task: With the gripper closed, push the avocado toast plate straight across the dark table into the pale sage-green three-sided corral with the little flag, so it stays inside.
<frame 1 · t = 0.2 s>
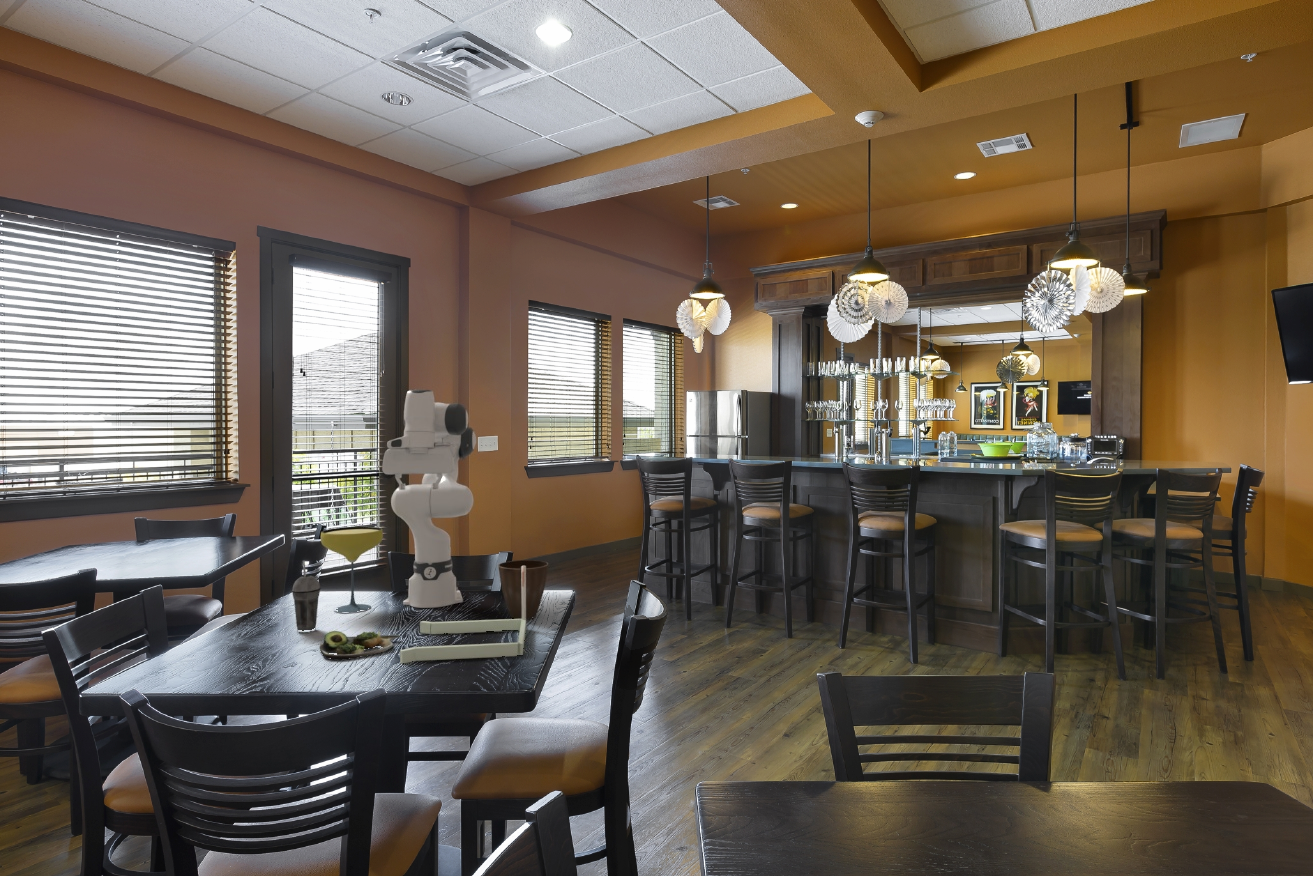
hand: (418, 489, 207), 39 cm above the table, tool pointing down, fingers open, 8 cm apart
avocado toast plate: (354, 651, 182), on the table
corral: (473, 643, 186), on the table
cocktail glass: (352, 609, 223), on the table
plant pot: (523, 617, 214), on the table
beverage cup: (306, 631, 199), on the table
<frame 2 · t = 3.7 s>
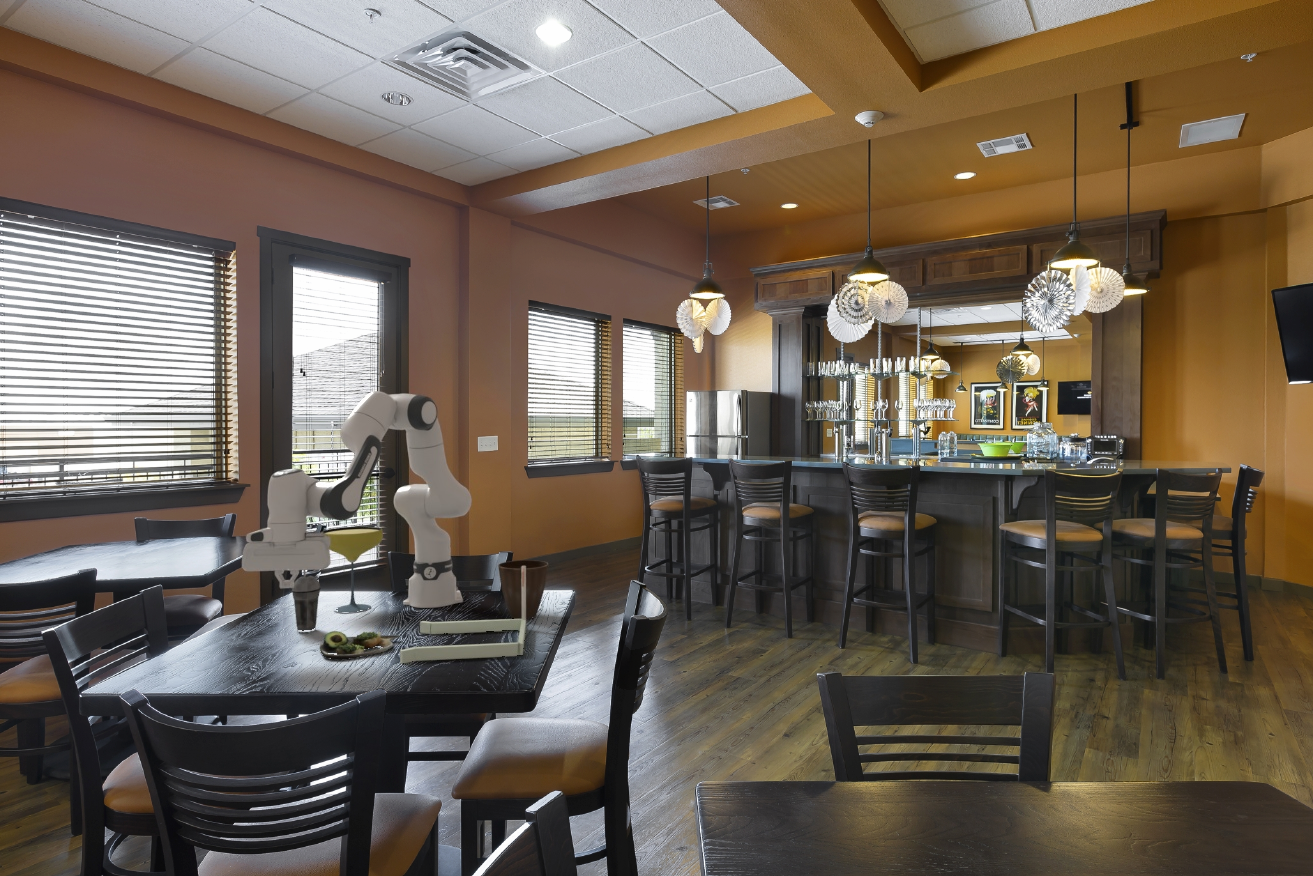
hand: (287, 587, 179), 16 cm above the table, tool pointing down, fingers closed
nothing on the table moved.
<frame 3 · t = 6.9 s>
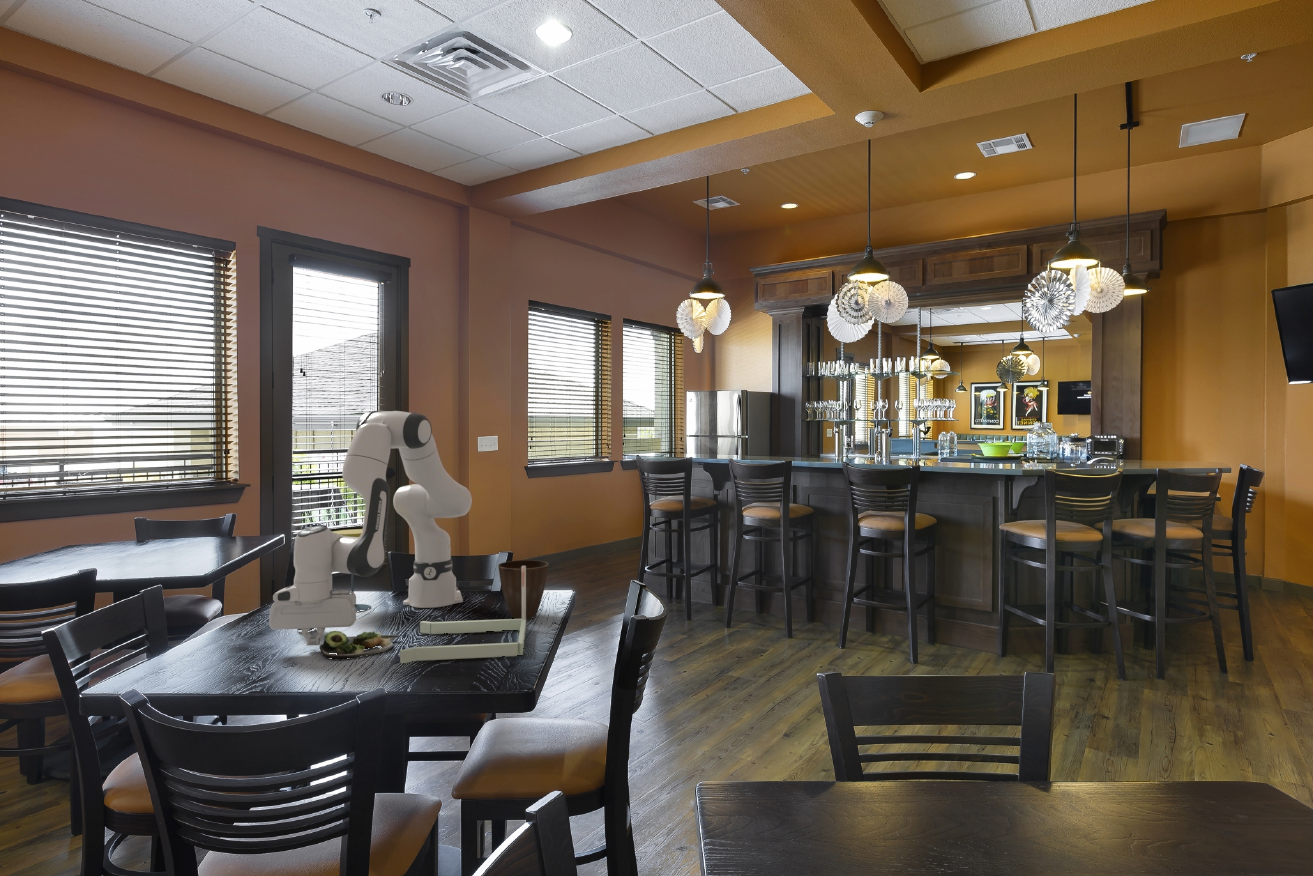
hand: (313, 645, 180), 1 cm above the table, tool pointing down, fingers closed
avocado toast plate: (354, 651, 182), on the table, touching gripper
everything else where it was.
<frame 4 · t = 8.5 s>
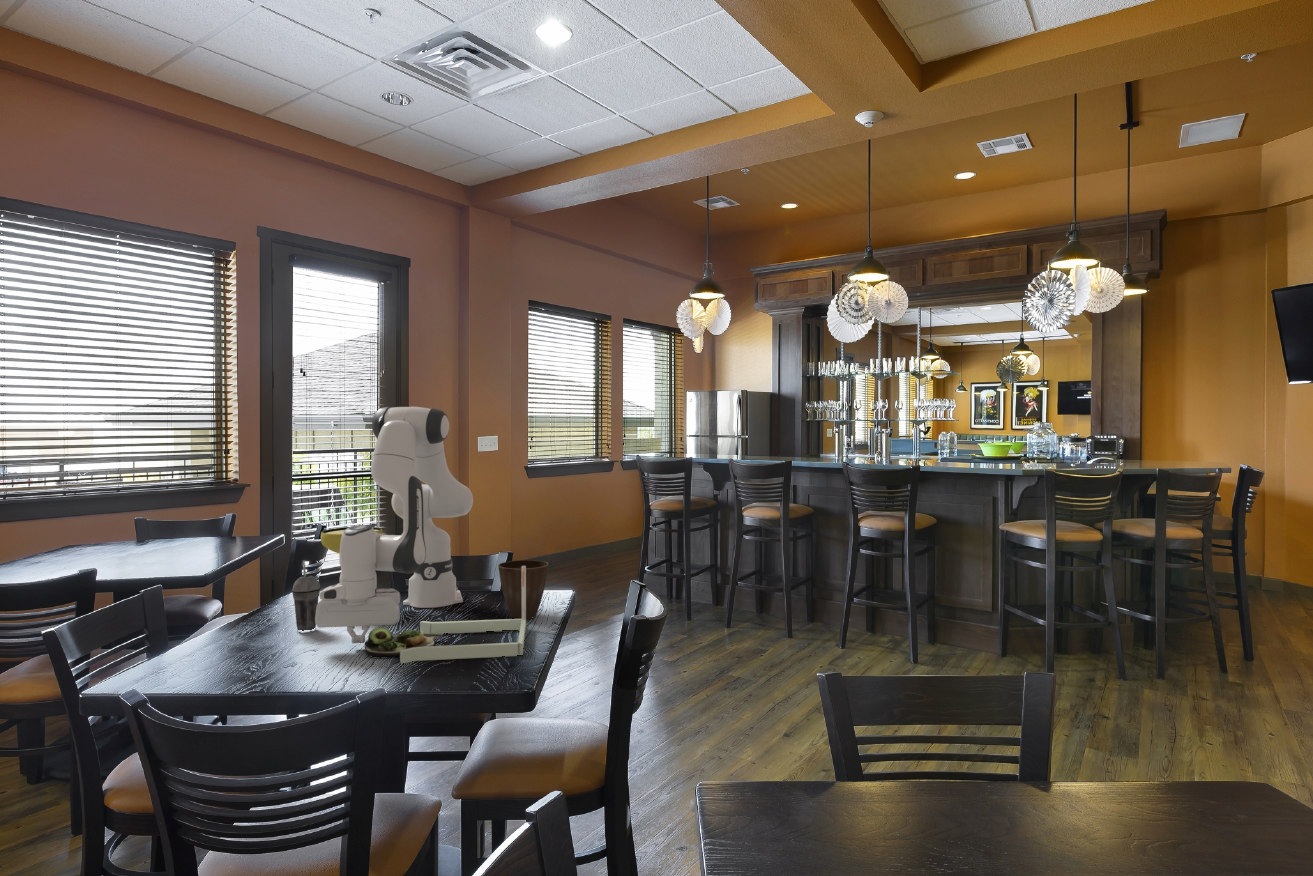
hand: (358, 642, 182), 2 cm above the table, tool pointing down, fingers closed
avocado toast plate: (397, 648, 183), on the table, touching gripper
everything else where it was.
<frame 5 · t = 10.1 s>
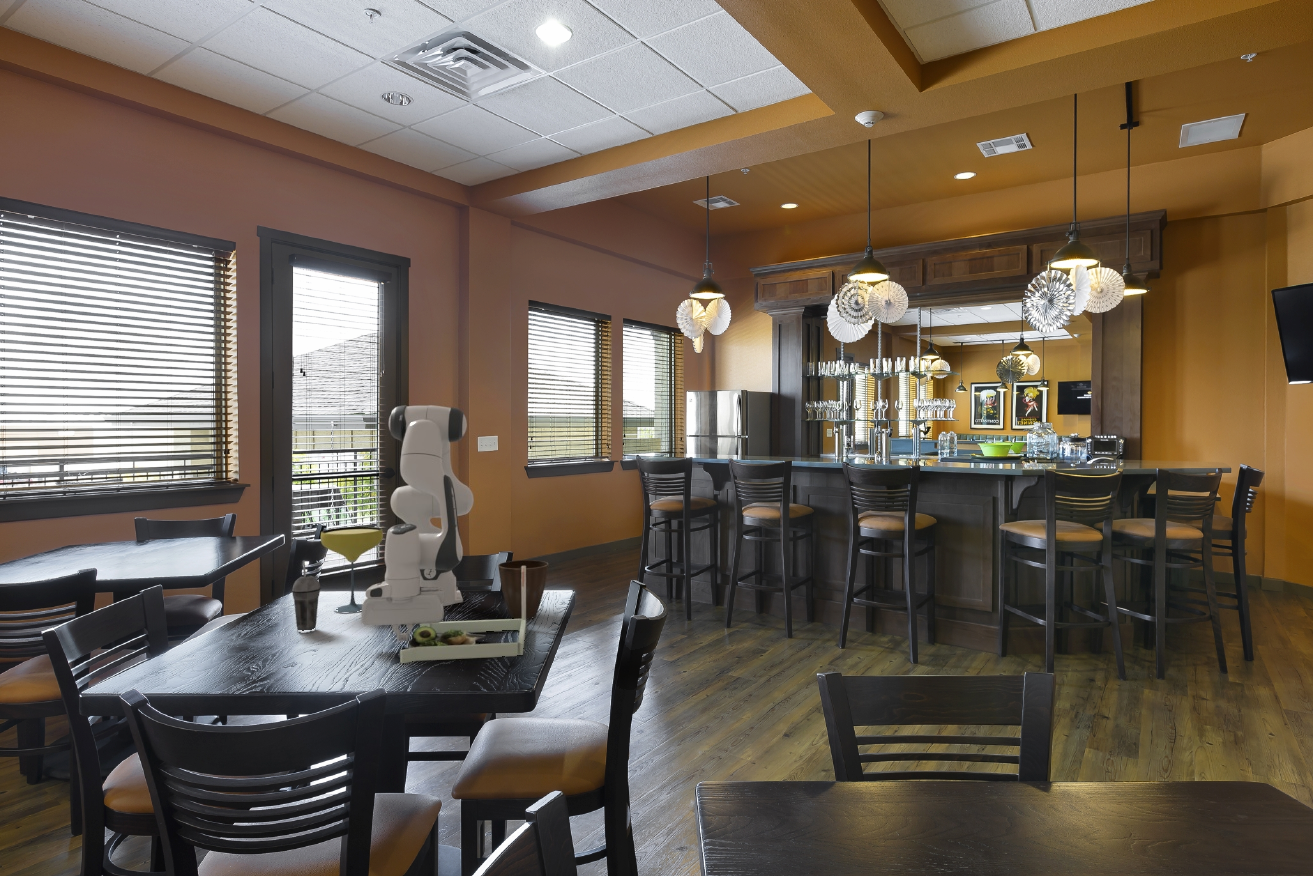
hand: (403, 640, 183), 2 cm above the table, tool pointing down, fingers closed
avocado toast plate: (440, 648, 184), on the table, touching gripper
everything else where it was.
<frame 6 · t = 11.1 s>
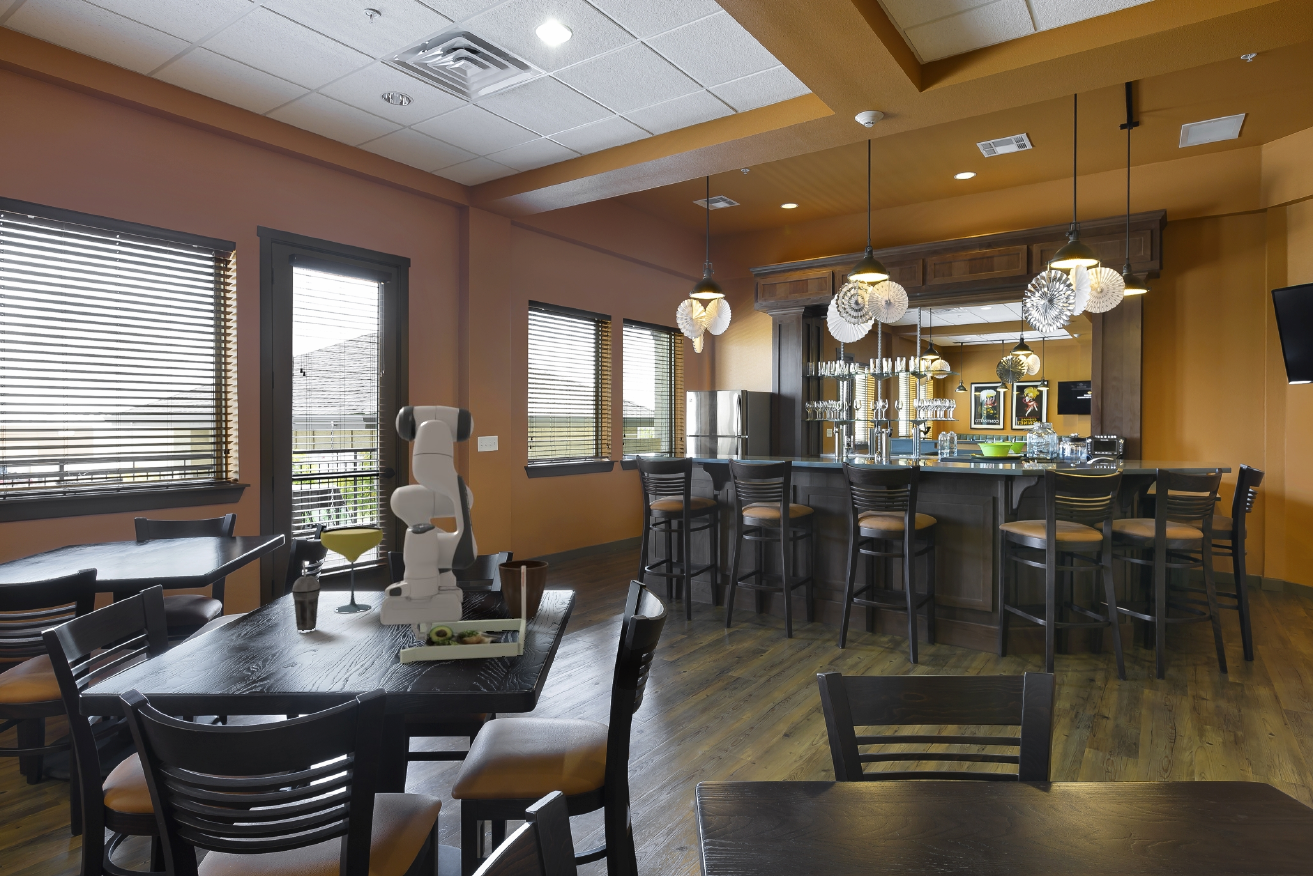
hand: (421, 639, 184), 2 cm above the table, tool pointing down, fingers closed
avocado toast plate: (455, 647, 184), on the table
everything else where it was.
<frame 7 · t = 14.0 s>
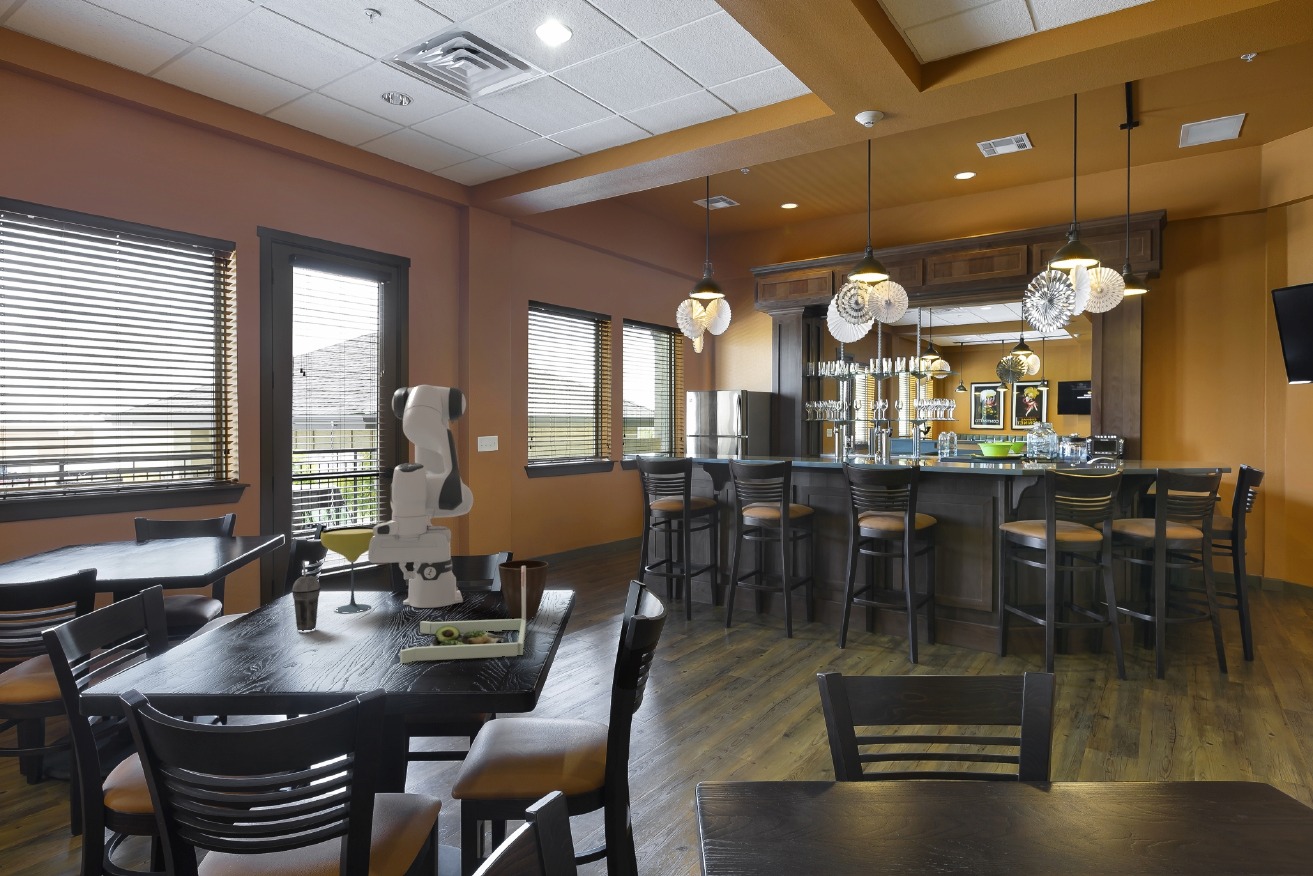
hand: (410, 578, 184), 18 cm above the table, tool pointing down, fingers closed
avocado toast plate: (461, 648, 184), on the table
everything else where it was.
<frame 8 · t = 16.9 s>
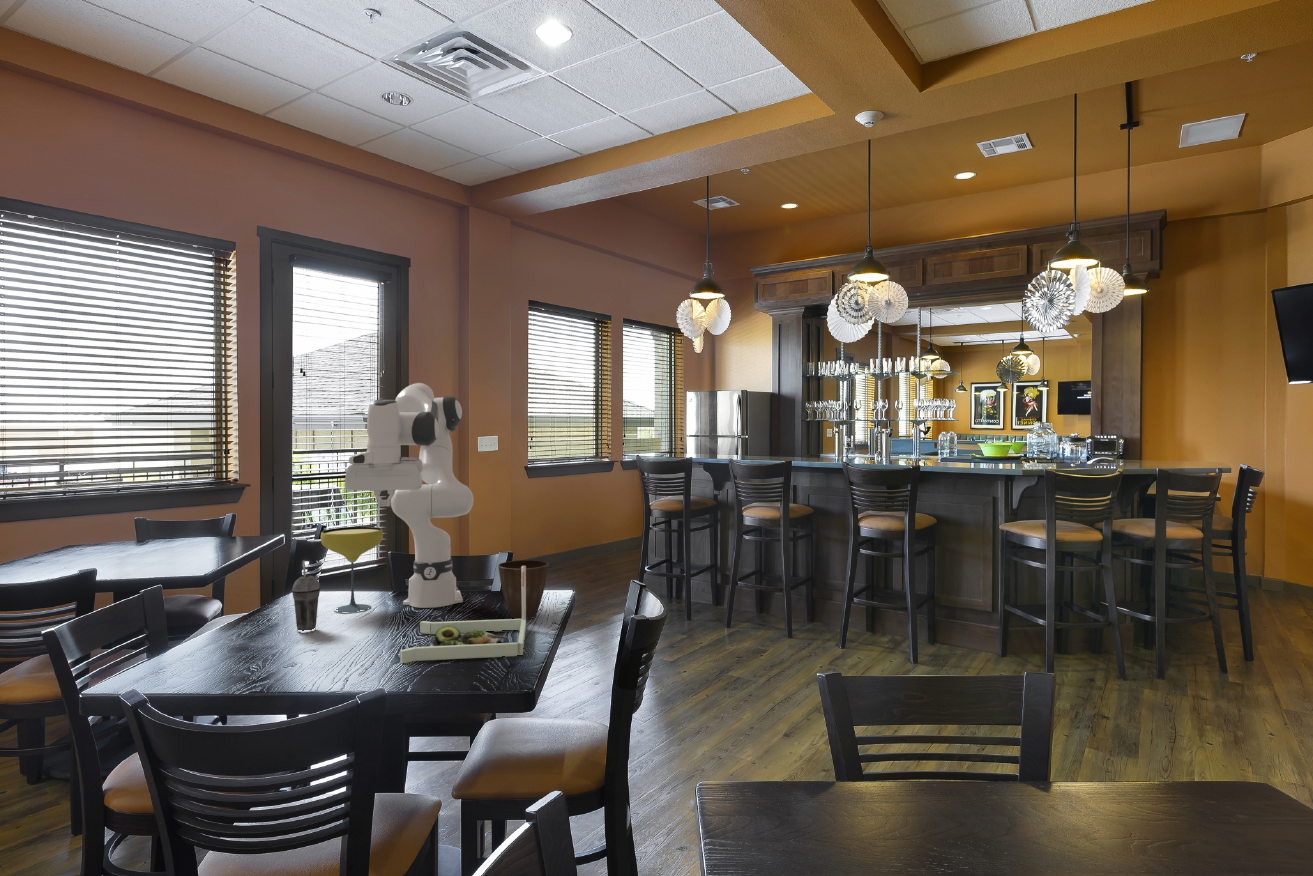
hand: (384, 506, 198), 35 cm above the table, tool pointing down, fingers closed
nothing on the table moved.
at the end: avocado toast plate inside the target area on the corral (3.1 cm from its centre), point -0.6 cm above the corral's base; avocado toast plate moved 27.2 cm from its start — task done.
